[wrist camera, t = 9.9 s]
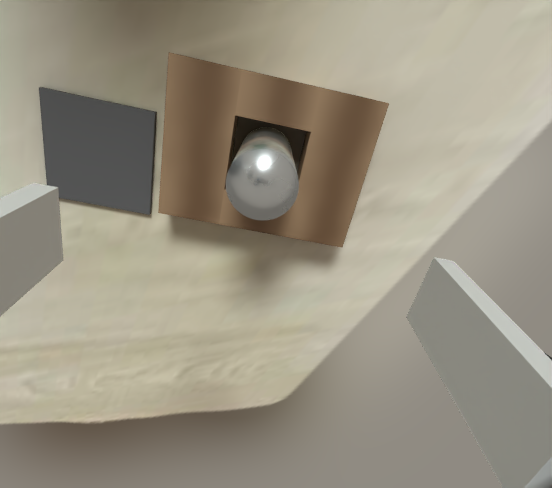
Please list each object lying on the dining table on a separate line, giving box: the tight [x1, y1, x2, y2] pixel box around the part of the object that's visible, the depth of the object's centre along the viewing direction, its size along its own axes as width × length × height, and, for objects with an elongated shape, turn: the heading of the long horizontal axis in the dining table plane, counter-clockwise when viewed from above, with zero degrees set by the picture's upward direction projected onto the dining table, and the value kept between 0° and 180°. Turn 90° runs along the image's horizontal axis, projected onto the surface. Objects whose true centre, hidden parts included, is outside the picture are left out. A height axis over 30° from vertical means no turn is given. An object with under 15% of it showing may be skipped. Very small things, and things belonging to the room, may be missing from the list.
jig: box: [158, 53, 389, 247], centre depth 28 cm, size 16×12×3 cm
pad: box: [39, 87, 157, 215], centre depth 29 cm, size 9×9×1 cm
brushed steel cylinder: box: [226, 127, 299, 220], centre depth 25 cm, size 4×4×10 cm
